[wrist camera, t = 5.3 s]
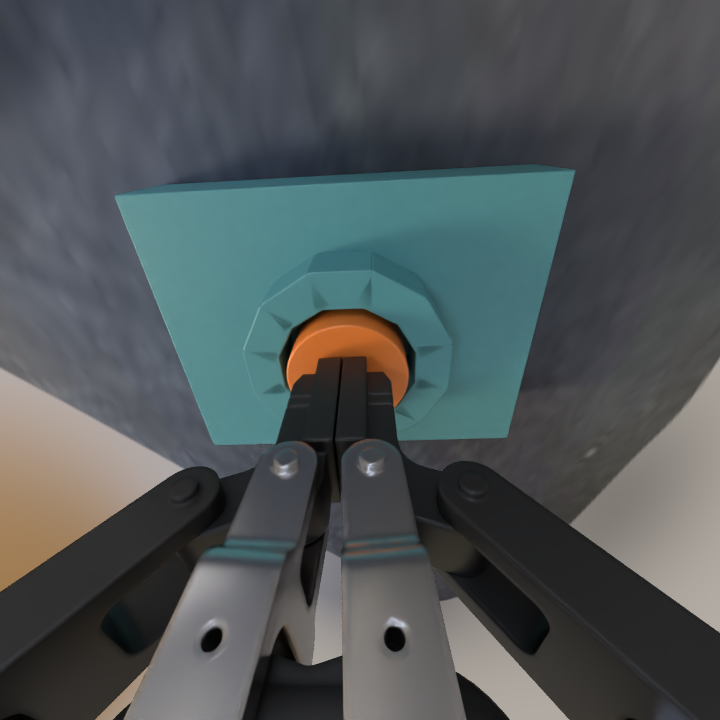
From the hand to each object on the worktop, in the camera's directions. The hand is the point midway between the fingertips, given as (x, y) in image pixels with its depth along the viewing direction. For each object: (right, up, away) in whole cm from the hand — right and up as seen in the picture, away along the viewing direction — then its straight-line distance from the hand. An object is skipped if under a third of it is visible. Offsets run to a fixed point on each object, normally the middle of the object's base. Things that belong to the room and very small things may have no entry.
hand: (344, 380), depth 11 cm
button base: (0, +3, +5) cm, 6 cm away
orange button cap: (0, +1, +2) cm, 2 cm away
